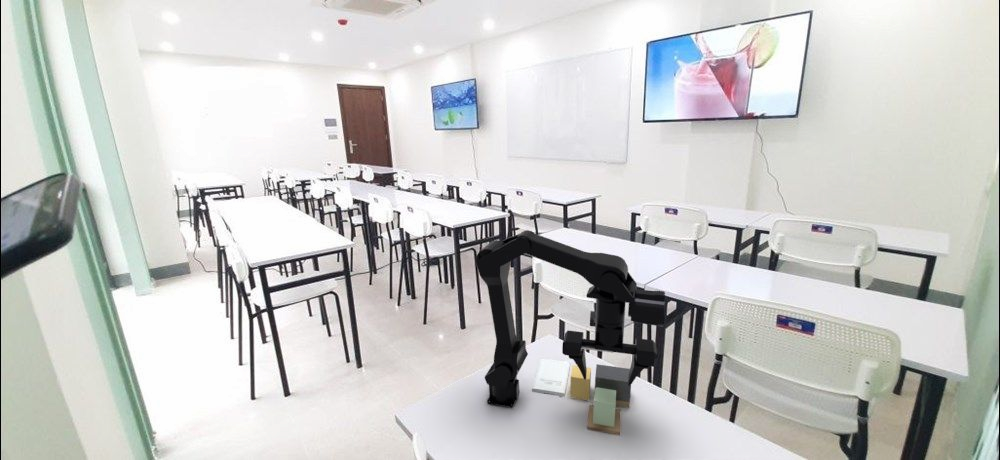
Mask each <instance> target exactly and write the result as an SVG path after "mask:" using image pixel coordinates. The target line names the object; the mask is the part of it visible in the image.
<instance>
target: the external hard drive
mask: <svg viewBox="0 0 1000 460" xmlns="http://www.w3.org/2000/svg"><path fill="white" fill-rule="evenodd" d="M570 368H571V362H570V361H565V360H564V361H563V360H555V359H551V358H550V359H549V358H540V360H539V364H538V367H537V370H536V374H535V377H534V380H533V384H532V388H531V392H534V393H541V394H550V395H553V396H560V397H565V396H566V391H567V387H568V380H569V376H570V371H571V369H570Z"/></svg>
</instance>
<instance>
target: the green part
mask: <svg viewBox="0 0 1000 460" xmlns="http://www.w3.org/2000/svg"><path fill="white" fill-rule="evenodd" d="M593 405H594V411H593V423H595V424H600V425H605V426H610V427H614V421H615V409H616V406H617V405H616V390H610V389H604V388H598V387H596V388H595V387H594V397H593Z"/></svg>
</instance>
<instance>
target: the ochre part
mask: <svg viewBox="0 0 1000 460" xmlns="http://www.w3.org/2000/svg"><path fill="white" fill-rule="evenodd" d="M586 369H587V375H586V379H584V378H583V376H582V373H581V371H580V369H579V367H578V366H577V365H574V364H573V365H572V368H571V373H570V383H569V384H570V387H569V392H570V393H569V398H572V399H578V400H585V401H590V393H591V379H592V376H591V375H592V367H587V366H586Z"/></svg>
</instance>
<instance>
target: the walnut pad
mask: <svg viewBox="0 0 1000 460" xmlns="http://www.w3.org/2000/svg"><path fill="white" fill-rule="evenodd" d="M593 411H594V404H589V406H588V415H587V423H586V430H589V431H594V432H600V433H604V434H611V435H616V436H621V426H622V425H621V422H622V421H621V415H622V414H621V412H622V411H621V409H620V408H615V421H614V427H610V426H605V425H600V424H595V423H593Z"/></svg>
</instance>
